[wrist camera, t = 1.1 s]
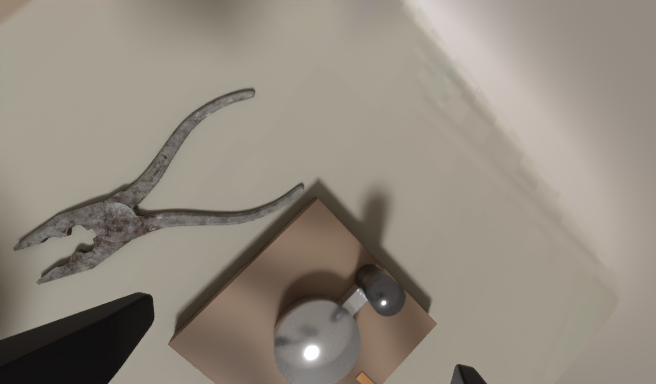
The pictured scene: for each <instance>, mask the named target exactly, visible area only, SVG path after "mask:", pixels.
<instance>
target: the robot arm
mask: <svg viewBox="0 0 656 384" xmlns="http://www.w3.org/2000/svg"><path fill="white" fill-rule="evenodd" d="M153 321H154V306H153V298H152V296H151V295H150V294H146V293H141V292H137V293H134V294H131V295H128V296H125V297H122V298H119V299H117V300H114V301H111V302H108V303H105V304H102V305H99V306H97V307H94V308H91V309H88V310H85V311H82V312H79V313H77V314H74V315H71V316H68V317H65V318H62V319H59V320H57V321H54V322H51V323H48V324H45V325H42V326H39V327H37V328H34V329H31V330H28V331H25V332H22V333H19V334H16V335H14V336H11V337H8V338H5V339H2V340H0V384H108V383H109V382H110V380H111V379H112V378H113V377H114V376H115V374H116V373H117V372H118V371H119V369H120V368H121V367H122V365H123V364H124V363H125V361H126V360H127V358H128V357H129V356H130V354H131V353H132V352H133V350H134V349H135V347H136V346H137V345H138V343H139V342H140V340H141V339H142V338H143V336H144V335H145V333H146V332H147V331H148V329H149V328H150V327H151V325H152V323H153ZM451 384H487V383H486V382H485V381H484V380H483V378H482V377H481V376H480V375H479V373H478V372H477V371H476V370H475V369H474V368H473V367H470V366H466V365H461V364H458V365H456V367H455V369H454V373H453V377H452V380H451Z"/></svg>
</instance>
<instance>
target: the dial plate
mask: <svg viewBox="0 0 656 384" xmlns="http://www.w3.org/2000/svg"><path fill="white" fill-rule="evenodd" d="M368 264H372V265H376V266H377V267H379V268H380V269H381V270H383V271H384V272H385V273H386V274H387V275H389V276H390V277H391V278H392V279H394V278H393V277H392V276H391V275H390V274H389V273H388V272H387V270H386V269H385V268H384V267H383V266H382V265H381V264H380V263H379V262H378V261H377V260H376V259H375V258H374V257H373V256H372V255H371V254H370V253H369V252H368V250H367V249H366V248H365V247H364V246H363V245H362V244H361V243H360V242H359V241H358V240H357V239H356V238H355V237H354V236H353V235H352V234H351V233H350V231H349V230H348V229H347V228H346V227H345V226H344V225H343V224H342V223H341V222H340V221H339V220H338V219H337V218H336V217H335V216H334V215H333V214H332V213H331V211H330V210H329V209H328V208H327V207H326V206H325V205H324V204H323V203H322V202H321V201H320V200H319V199H318V198H316V197H315V198H314V199H313V200H312V201H311V202H309V203H308V204H307V205H306V206H305V207H304V208H303V209H302V210H301V211H300V212H299V213H298V214H297V215H296V216H295V217H294V218H293V219H292V220H291V221H290V222H289V223H288V224H287V225H286V226H285V227H284V228H283V229H282V230H281V231H280V232H279V233H278V234H276V235H275V236H274V237H273V238H272V239H271V240H270V241H269V242H268V243H267V244H266V245H265V246H264V247H263V248H262V249H261V250H260V251H259V252H258V253H257V254H256V255H255V256H254V257H253V258H252V259H251V260H250V261H249V262H248V263H247V264H246V265H245V266H244V267H242V268H241V269H240V270H239V271H238V272H237V273H236V274H235V275H234V276H233V277H232V278H231V279H230V280H229V281H228V282H227V283H226V284H225V285H224V286H223V287H222V288H221V289H220V290H219V291H218V292H217V293H216V294H215V295H214V296H213V297H212V298H211V299H209V300H208V301H207V302H206V303H205V304H204V305H203V306H202V307H201V308H200V309H199V310H198V311H197V312H196V313H195V314H194V315H193V316H192V317H191V318H190V319H189V320H188V321H187V322H186V323H185V324H184V325H183V326H182V327H181V328H180V329H179V330H178V331H177V332H175V333H174V335H173V337H172V338H171V340H170V342H169V344H168V345H169V346H170V347H171V348H173V349H174V350H175V351H176V352H178V353H179V354H180V355H181V356H182V357H184V358H185V359H186V360H187V361H188V362H190V363H191V364H192V365H193V366H195V367H196V368H197V369H198V370H199V371H201V372H202V373H203V374H204V375H206V376H207V377H208V378H209V379H210V380H212V381H213V382H214V383H215V384H291V383H290V382H289V381H287V380H286V379H285V378H284V377H283V376H282V374H281V373H280V372H279V370H278V368H277V365H276V362H275V358H274V343H273V336H274V330H275V326H276V323H277V321H278V319H279V317H280V316H281V314H282V313H283V312H284V311H285V309H286V308H287V307H289V306H290V305H291V304H292V303H294V302H295V301H297V300H299V299H301V298H303V297H306V296H310V295H327V296H330V297H333V298H335V299H337V300H340V299H341V298H342V297H343V296H344V295H345V294H346V292H347V291H348V290H349V289H350V288H351V287H352V286H353V285H354V284H355V275H356V273H357V271H358V270H359V269H360V268H361V267H362V266H364V265H368ZM394 280H395V279H394ZM395 281H396V280H395ZM396 282H397V281H396ZM397 283H398V282H397ZM403 289H404V288H403ZM404 291H405V289H404ZM405 294H406V300H405V304H404V306H403V308H402V309H401V311H400V312H398V313H397V314H395V315H393V316H389V317H386V316H382V315H380V314H378V313H377V312H376V311H375V310H374V308H373V307H372V306H371V305H370V304H369V302H368V301H366V302H365V303H364V305H363V306H362V307H361V308H360V309H359V310H358V311H357V312H356V313H355V314H354V315H353V318H354V319H355V321H356V323H357V325H358V327H359V330H360V335H361V348H360V353H359V356H358V359H357V361H356V363H355V365H354V366H353V368H352V369H351V371H350V372H349V373H348V374H347V375H346V376H345V377H344V378H343V379H341V380H340V381H339V382H337V383H335V384H383V383H384V382H385V381H386V379H387V378H388V377H389V376H390V375H391V374H392V373H393V372H394V371H395V370H396V368H397V367H398V366H399V365H400V364H401V363H402V362H403V361H404V360H405V359H406V357H407V356H408V355H409V354H410V353H411V352H412V351H413V350H414V349H415V348H416V346H417V345H418V344H419V343H420V342H421V341H422V340H423V339H424V338H425V337H426V335H427V334H428V333H429V332H430V331H431V330H432V329H433V328H434V327H435V326H436V324H437V323H436V322H435V321H434V320H433V319H432V318H431V317H430V316H429V315H428V314H427V313H426V312H425V311H424V309H423V308H422V307H421V306H420V305H419V304H418V303H417V302H416V301H415V300H414V299H413V298H412V297H411V296H410V295H409V294H408V293H407V292H406V291H405Z"/></svg>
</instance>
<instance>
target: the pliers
mask: <svg viewBox="0 0 656 384" xmlns="http://www.w3.org/2000/svg"><path fill="white" fill-rule="evenodd" d="M254 95H255V93H254V91H252V90H247V91H241V92H237V93H233V94H230V95H227V96H224V97H222V98H219V99H217V100H215V101H213V102H211V103H209V104H207V105H205V106H204V107H202V108H201V109H199V110H198V111H196V112H194V113H193V114H192V115H191V116H189V117H188V118H187V119H186V120H185V121H184V122H183V123H182V124H181V125H180V126H179V127H178V128H177V129H176V131H175V132H174V133H173V134H172V136H171V137H170V138H169V140H168V141H167V142H166V144H165V145H164V147H163V148H162V149H161V151H160V152H159V154H158V155H157V156H156V158H155V159H154V161H153V162H152V163H151V165H150V166H149V167H148V168H147V170H146V171H145V172H144V173H143V174H142V176H141V177H140V178H139V179H138V180H137V181H136V182H135V183H133V184H132V185H131V186H129V187H128V188H126V189H125V190H122V191H120V192H118V193H117V194H115V195H114V196H112V197H110V198H109V199H107V200H105V201H102V202H99V203H95V204H92V205H89V206H85V207H82V208H79V209H76V210H72V211H69V212H66V213H63V214H59V215H57V216H55V217H54V218H53V219H51V220H50V221H49V222H47V223H46V224H44V225H43V226H42V227H40V228H39V229H38V230H36V231H35V232H34V233H32V234H31V235H29V236H28V237H27V238H25V239H24V240H23V241H21V242H20V243H19V244H17V245H16V246H15V247H13V249H14V251H15V250H19V249H22V248H26V247H29V246H33V245H36V244H40V243H43V242H45V241H46V240H47V239H48V238H50V237H60V238H61V237H65V236H68V235H71V232H72V227H74V226H75V225H82V226H83V227H84V228H85V229H87V230H89V229H93V230H94V231H95V233H96V234H97V236H96V237H95V238H93V241H94V244H95V246H94V248H93V250H92V251H90V252H87V251H84V250H81V249H80V250H78V251H76V252H75V253H74V254H72V256H71V258H70V260H69V261H68V263H67V264H64V265H59V266H57V267H55V268H54V269H52V270H51V271H50V272H49V273H47V274H46V275H45V276H43V277H42V278H41V279H39V280H38V281H37V282H36V283H38V284H42V283H45V282H48V281H52V280H55V279H59V278H62V277H65V276H69V275H72V274H75V273H79V272H82V271H85V270H89V269H92V268H94V267H95V266H97V265H98V264H100V263H101V262H102V261H104V260H105V259H106V258H108V257H109V256H110V255H112V254H113V253H115V252H116V251H117V250H119V249H120V248H121V247H123V246H124V245H126V244H127V243H128V242H130V241H131V240H132V239H135V238H137V237H140V236H142V235H145V234H147V233H149V232H151V231H155V230H158V229H161V228H166V227H174V226H188V225H230V224H240V223H244V222H248V221H253V220H255V219H258V218H261V217H264V216H266V215H268V214H270V213H272V212H275V211H277V210H279V209H280V208H282V207H283V206H285V205H287V204H288V203H290V202H291V201H292V200H294V199H295V198H296V197H297V196H299V195H300V194H301V193H302V192H303V191H304V187H303V186H298V187H297V188H295V189H294V190H292V191H291V192H290V193H288V194H287V195H286V196H284V197H283V198H281V199H279V200H278V201H276V202H274V203H272V204H270V205H267V206H265V207H263V208H260V209H257V210H253V211H250V212H244V213H236V214H219V213H199V212H181V211H173V212H161V213H153V214H146V215H139V214H138V213H137V211H136V209H134V208H135V207H136V206H137V204H139V203H140V202H141V201H142V200H143V199H144V198H145V197H146V196H147V195H148V194H149V193H150V191H151V190H152V189H153V188H154V187H155V185H156V184H157V183H158V182H159V180H160V179H161V177H162V176H163V174H164V172H165V171H166V169H167V167H168V166H169V164H170V162H171V160H172V159H173V157H174V155H175V154H176V152H177V151H178V149H179V148H180V146H181V144H182V143H183V141H184V140H185V138H186V137H187V136H188V134H189V133H190V132H191V130H192V129H193V128H194V127H195V126H196V125H197V124H198V123H200V122H201V121H202V120H203V119H205V118H206V117H207V116H209V115H210V114H212V113H214V112H215V111H217V110H219V109H220V108H222V107H225V106H227V105H230V104H232V103H235V102H238V101H242V100H246V99H249V98H252V97H253V96H254Z"/></svg>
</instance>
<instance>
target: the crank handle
mask: <svg viewBox="0 0 656 384" xmlns="http://www.w3.org/2000/svg"><path fill="white" fill-rule="evenodd" d="M405 300H406V294H405V291H404V289H403V287H402V286H401V285H400V284H399V283H397V282H396V281H395V280H394V279H392V278H391V277H390V276H389V275H387V274H386V273H385V272H384V271H383V270H381V269H380V268H379V267H377V266H376V265H372V264H368V265H364V266H362V267H361V268H360V269H359V270H358V271H357V273H356V275H355V284H354V285H353V286H352V287H351V288H350V289H349V290H348V291H347V292H346V294H345V295H344V296H343V297H342V298H341V299H340V300H337V299H335V298H333V297H330V296H327V295H310V296H306V297H303V298H301V299H299V300H297V301H295V302H294V303H292V304H291V305H290V306H289V307H287V308H286V309H285V311H284V312H283V313H282V314H281V316H280V317H279V319H278V321H277V323H276V326H275V330H274V336H273V343H274V358H275V362H276V365H277V368H278V370H279V372H280V373H281V374H282V376H283V377H284V378H285V379H286V380H287V381H289V382H290V383H291V384H335V383H337V382H339V381H340V380H341V379H343V378H344V377H345V376H346V375H347V374H348V373H349V372H350V371H351V369H352V368H353V366H354V365H355V363H356V361H357V359H358V356H359V353H360V348H361V335H360V330H359V327H358V325H357V323H356V321H355V319H354V318H353V315H354V314H355V313H356V312H357V311H358V310H359V309H360V308H361V307H362V306H363V305H364V303H365V302H366V301H368V302H369V304H370V305H371V306H372V307H373V308H374V310H375V311H376V312H377V313H378V314H380V315H382V316H386V317H389V316H393V315H395V314H397V313H398V312H400V311H401V309H402V308H403V306H404V304H405Z"/></svg>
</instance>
